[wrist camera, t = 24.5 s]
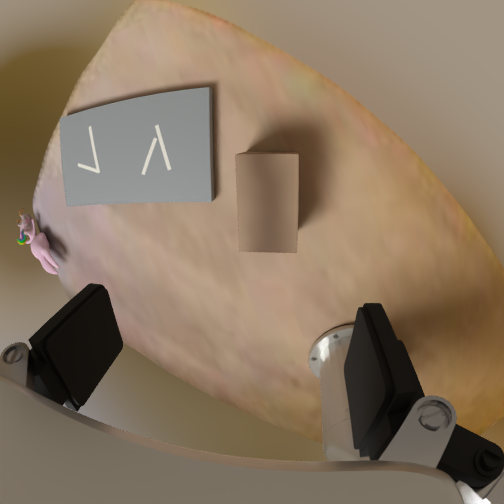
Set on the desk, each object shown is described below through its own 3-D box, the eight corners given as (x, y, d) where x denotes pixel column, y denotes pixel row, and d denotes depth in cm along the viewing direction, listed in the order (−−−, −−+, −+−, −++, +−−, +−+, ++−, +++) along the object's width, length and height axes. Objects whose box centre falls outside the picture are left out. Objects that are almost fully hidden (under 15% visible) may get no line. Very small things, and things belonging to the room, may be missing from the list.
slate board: (212, 89, 30) (209, 87, 28) (214, 199, 35) (211, 201, 34) (66, 118, 32) (59, 118, 31) (72, 204, 38) (66, 206, 36)
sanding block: (296, 151, 32) (298, 154, 25) (295, 231, 35) (297, 252, 29) (245, 151, 32) (235, 154, 26) (248, 230, 36) (239, 251, 30)
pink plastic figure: (25, 224, 43) (61, 278, 43) (3, 231, 37) (38, 290, 37) (32, 200, 40) (69, 256, 40) (8, 206, 35) (44, 267, 35)
